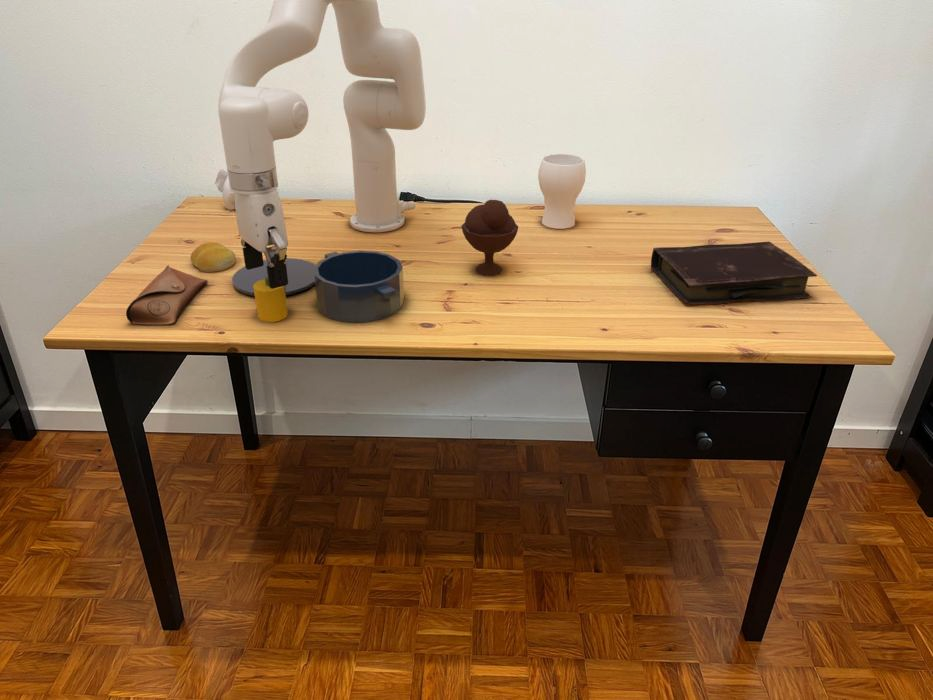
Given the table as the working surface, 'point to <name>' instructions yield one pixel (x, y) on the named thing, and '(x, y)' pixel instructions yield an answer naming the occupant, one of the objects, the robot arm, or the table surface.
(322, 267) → the pan
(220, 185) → the elephant figurine
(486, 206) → the ice cream bowl
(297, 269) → the lid
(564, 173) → the cup
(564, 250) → the table surface
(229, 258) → the bread roll
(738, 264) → the diary
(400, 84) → the robot arm
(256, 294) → the yellow cylinder with peg
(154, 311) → the sunglasses case
